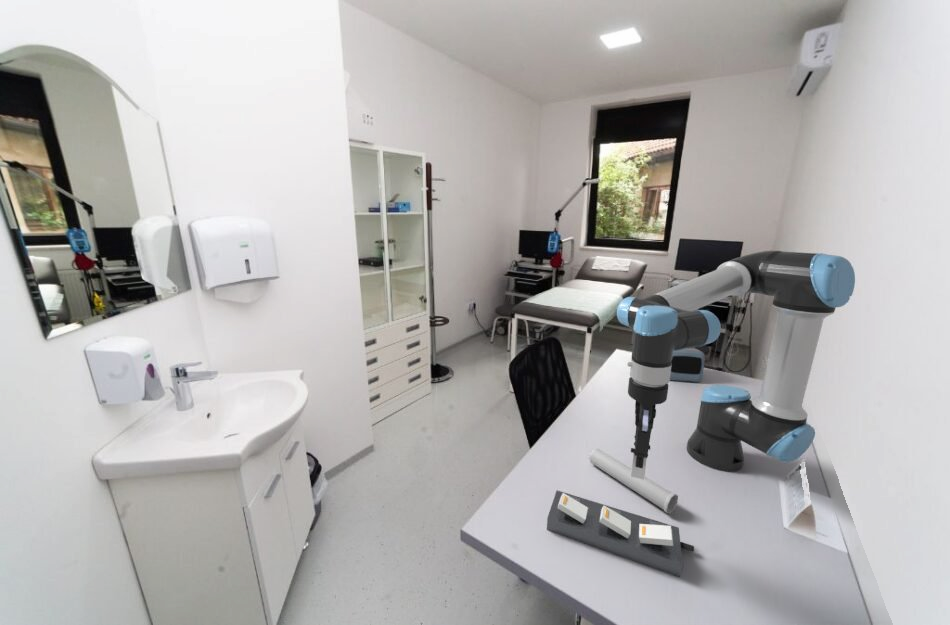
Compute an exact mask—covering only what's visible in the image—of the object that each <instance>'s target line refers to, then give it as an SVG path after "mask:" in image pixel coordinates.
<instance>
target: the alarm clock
mask: <svg viewBox="0 0 950 625" xmlns="http://www.w3.org/2000/svg"><path fill="white" fill-rule="evenodd" d="M705 362H706V355H705V353H704V352H703V351H701V350H699V349H697V347H692V348H686V349H681V350H676V351H673V355H672V362H671V363H672V366H671V373H670V381H676V382H677V381H681V382H690V383H691V382H692V383H694V382H695V383H700V382H701V381H703V376H704V368H705Z"/></svg>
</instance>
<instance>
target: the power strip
mask: <svg viewBox="0 0 950 625" xmlns="http://www.w3.org/2000/svg"><path fill="white" fill-rule="evenodd" d="M563 493H564V494H566V495H568V496H569V497H571V498H573V499H574V500H576V501H578V502H580V503H581V504H583V505H585V506H586V507H588V510H587V515H586V520H585V522H584V523H581V522H579V521H578V520H576V519H574V518H573V517H571V516H570V515H568V514H566V513H565V512H563V511H561V510H560V509H558V504H559V501H560V498H561V496H562V494H563ZM603 506H606V507H608V508H609V509H611V510H613V511H615V512H616V513H618V514H620V515H621V516H623V517H625V518H627V519H628V520H630V521H631V531H630V536H629V537H628V539H627V538H626V537H624V536H622V535H621V534H619V533H617V532H616V531H614V530H612V529H611V528H609V527H607V526H606V525H604V524H602V523H601V522H599V521H600V515H601V509H602V508H603ZM546 520H547V521H546V531H549V532H552V533H555V534H557V535H560V536H563V537H566V538H568V539H571V540H574V541H577V542H580V543H583V544H585V545H588V546H590V547H594V548H597V549H599V550H602V551H604V552H608V553H610V554H613V555H616V556H619V557H622V558H624V559H626V560H630V561H633V562H635V563H639V564H642V565H644V566H647V567H650V568H653V569H655V570H659V571H661V572H664V573H667V574H669V575H673V576H676V577H678V578H681V573H682V568H683V556H682V549H683V550H687V551H689V552H692V553H694V551H695V546H694V545H692V544H689V543H685V542H682V541H681V537H680V527H678V526H675V525H671V524H668V523H665V522H662V521H659V520H655V519H651V518H649V517H646V516H642V515H639V514H635V513H632V512H629V511H626V510H623V509H620V508H617V507H612V506H610V505H606V504H603V503H600V502H598V501H597V502H596V501H593V500H590V499H587V498H583V497H581V496H577V495H573V494H570V493H568V492H564V491H561V490H556V492H555V495H554V497H553V501H552V504H551V506H550V509H549V513H548V515H547V519H546ZM639 524H650V525H665V526H671V528H672V535H673V546H669V545H657V544H646V543H640V539H639Z"/></svg>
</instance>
